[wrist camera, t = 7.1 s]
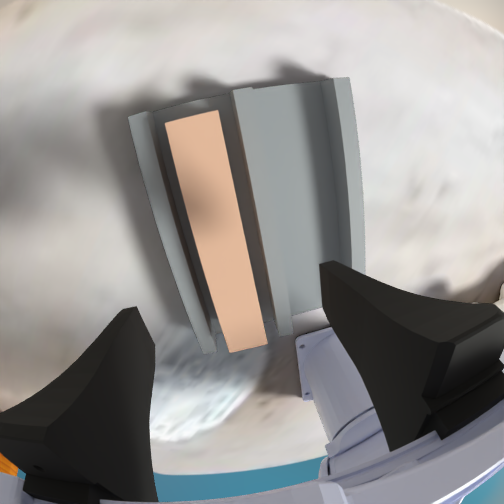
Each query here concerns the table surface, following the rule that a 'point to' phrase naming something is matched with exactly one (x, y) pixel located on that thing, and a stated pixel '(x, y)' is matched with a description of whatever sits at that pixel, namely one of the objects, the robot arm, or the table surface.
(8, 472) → the carrot
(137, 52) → the table surface
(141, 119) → the rack
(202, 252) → the clay strip
